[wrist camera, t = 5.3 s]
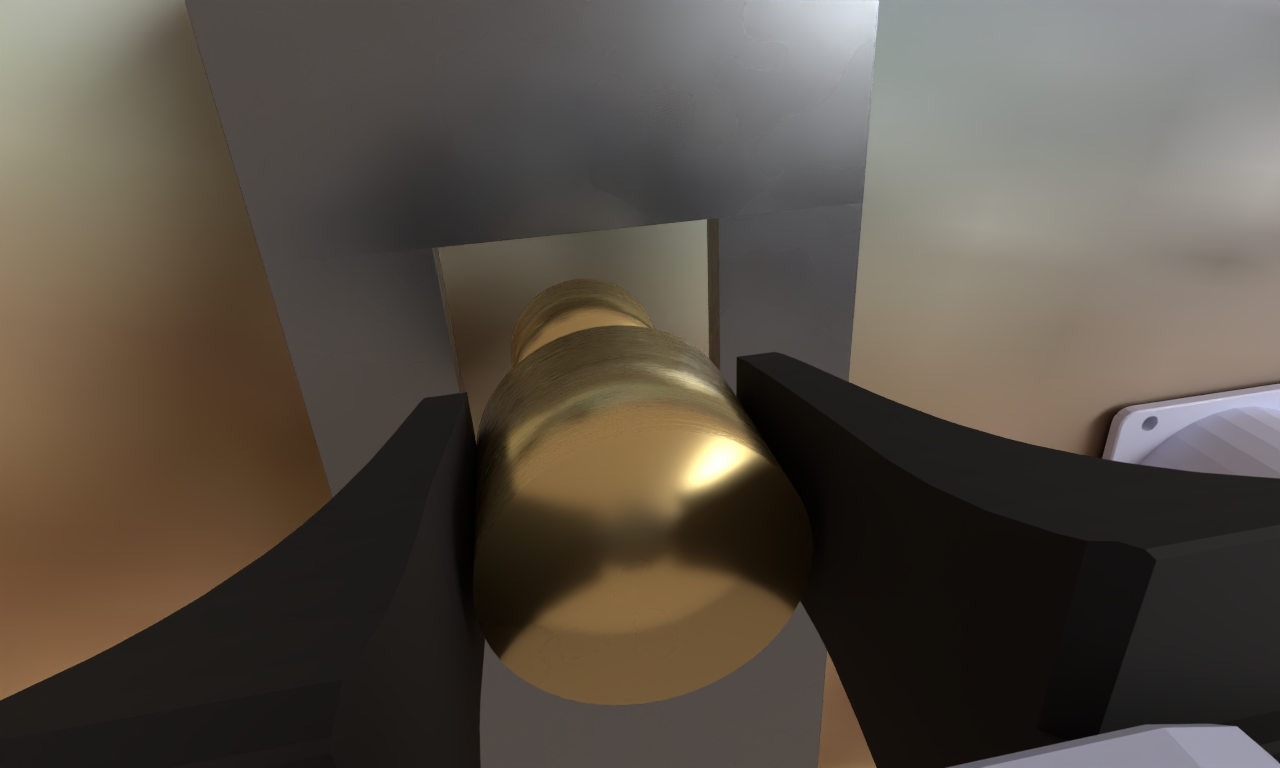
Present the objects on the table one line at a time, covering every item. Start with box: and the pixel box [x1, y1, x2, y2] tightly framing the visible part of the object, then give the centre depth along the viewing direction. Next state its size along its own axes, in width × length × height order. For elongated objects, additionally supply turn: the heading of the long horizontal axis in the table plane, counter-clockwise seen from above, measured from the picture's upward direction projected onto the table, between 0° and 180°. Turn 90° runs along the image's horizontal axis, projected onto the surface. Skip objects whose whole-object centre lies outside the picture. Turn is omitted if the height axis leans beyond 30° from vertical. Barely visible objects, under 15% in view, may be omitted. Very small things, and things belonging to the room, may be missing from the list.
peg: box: [473, 279, 813, 705], centre depth 12 cm, size 4×4×7 cm
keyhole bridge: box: [185, 0, 879, 768], centre depth 17 cm, size 10×20×5 cm, turn 3°
